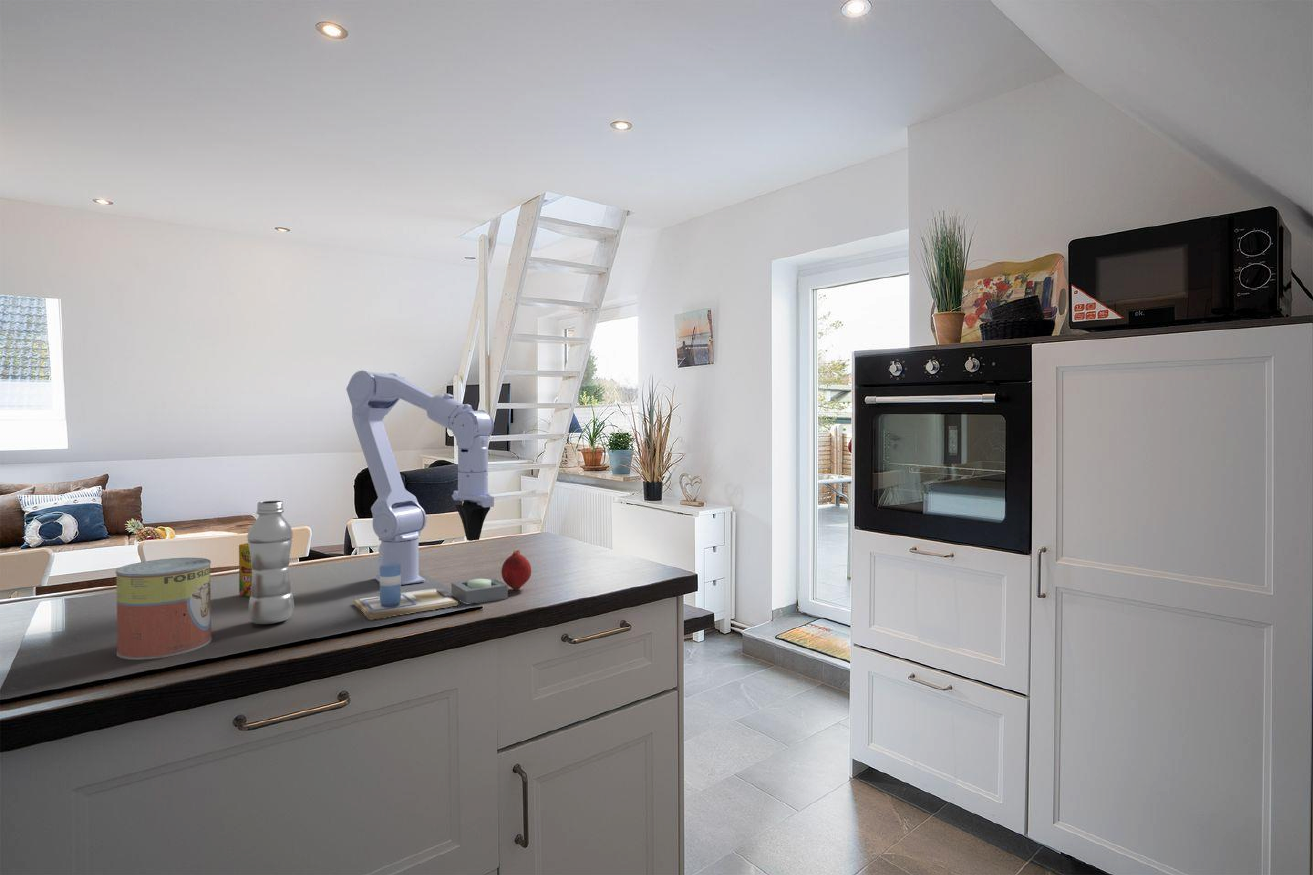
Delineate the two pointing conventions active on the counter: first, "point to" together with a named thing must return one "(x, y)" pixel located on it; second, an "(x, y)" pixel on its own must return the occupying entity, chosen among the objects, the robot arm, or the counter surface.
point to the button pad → (479, 591)
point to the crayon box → (245, 570)
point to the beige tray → (406, 603)
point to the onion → (516, 570)
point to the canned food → (163, 608)
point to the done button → (478, 583)
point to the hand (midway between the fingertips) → (473, 539)
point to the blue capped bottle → (390, 585)
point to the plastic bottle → (270, 565)
